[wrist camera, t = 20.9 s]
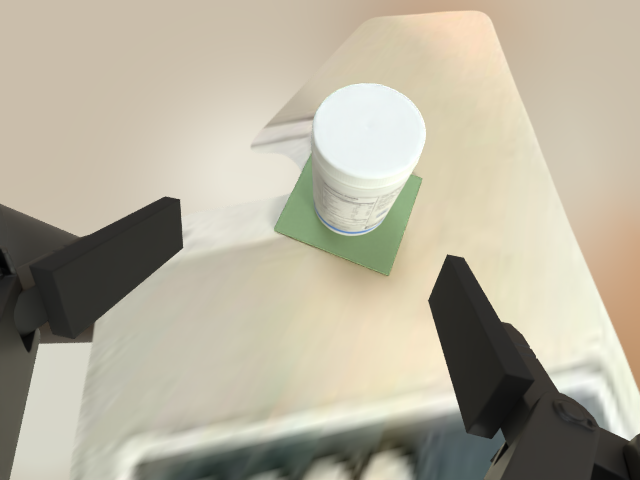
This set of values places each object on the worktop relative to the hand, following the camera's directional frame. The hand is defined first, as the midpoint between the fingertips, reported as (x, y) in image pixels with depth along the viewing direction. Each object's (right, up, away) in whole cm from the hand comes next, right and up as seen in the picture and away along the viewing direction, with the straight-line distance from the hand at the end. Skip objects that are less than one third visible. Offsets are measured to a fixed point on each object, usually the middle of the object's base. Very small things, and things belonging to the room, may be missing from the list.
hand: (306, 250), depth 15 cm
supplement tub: (+5, +5, +23) cm, 24 cm away
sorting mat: (+5, +5, +24) cm, 25 cm away
